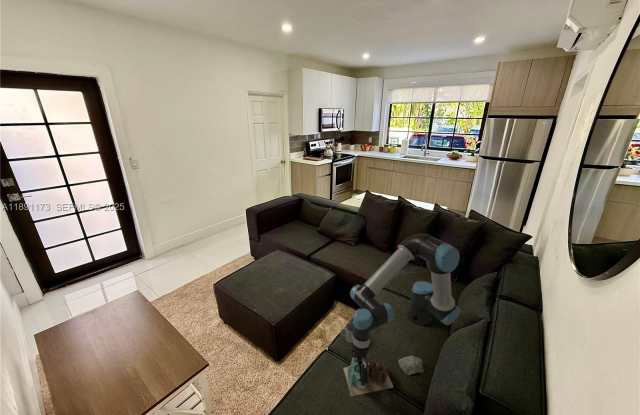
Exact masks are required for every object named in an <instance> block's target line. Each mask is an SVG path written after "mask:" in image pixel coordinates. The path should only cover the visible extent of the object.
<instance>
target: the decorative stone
mask: <svg viewBox="0 0 640 415" xmlns="http://www.w3.org/2000/svg"><path fill="white" fill-rule="evenodd" d="M397 361H398V365H399V368H400V369H401V370H402V372H403V373H404V374H406V375H407V376H411V375H414V374H418V373H421V374H423V373H424V366H423V360H422V359H421V358H420V357H416V356H414V355H409V356H403V357H402V358H400V359H398V360H397Z"/></svg>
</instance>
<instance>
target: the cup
mask: <svg viewBox="0 0 640 415" xmlns="http://www.w3.org/2000/svg"><path fill="white" fill-rule="evenodd" d="M339 332H340V333H339V334H340V336H341V337H342V338H344V339H345V341H346V343H347V344H352V339H351V337H352V336H353V321H349V322H346V323H345V326H344V327H342V328H341V329H340V331H339ZM344 332H345V333H344Z"/></svg>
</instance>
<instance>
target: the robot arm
mask: <svg viewBox="0 0 640 415" xmlns="http://www.w3.org/2000/svg"><path fill="white" fill-rule="evenodd" d="M397 248H398V249H396V251H394V252H393V254H392V255H391V256H389V258H387V260H386V261H384V263H382V265H381V266H379V268H378V269H377V270H376V271H375V272H374V273H373V274H372V275H371V276H370V277H369V278H368V279H367V280H366V282H364V283H363V284H362V285H360V284H356V285H354V286H353V287H352V288H351V289H350V292H349V294H350V298H351V300H353V301H354V303H356V304H357V305H358V307H359V308H358V309H357V310H356V311H355V312H354V314H353V319H352V322H353V336H352V337H351V339H352V343H351V349H350V352H351V353H352V354H351V357H352V360H351V362H352V361H353V360H354V361H355V362H358V365H359V372H360V377H359V385H358V388H359V389H362V388H365V384H366V383H368V363H369V362H368V363H367V360H366V357H367V354H368V353H369V351H370V344H371V335H372V332H373V331H374V330H377V329H378V328H380V327H383V326H384V325H386V324H388V323H390V322H391V321H393V320H394V318H395V311H394V309H393V307H392V305H390V303H388V302H387V303H386V302H385V303H380V301H378V300H377V299H376V298H375V297H376V296H377V295H378V294H379V293H380V292H381V291H382V290H383V289H384V288H385V286H387V285H388V284H389V282H391V281H392V279H393V278H394V277H395V276H396V275H398V273H399V272H400V271H401V270H402V269H403V268H404V266H406V264H408V262H409V261H411V260H415V259H416V257H419V258H421V259H423V260H424V261H425V262H426V267H427V269H428V270H429V272H430V273H431V274H430V277H431V283H430V282H428V281H423V280H422V281H416V282H415V283H414V284H413V286H412V289H411V296H410V302H409V304H408V305H407V306H406V309H405V315H406V318H407V319H408V320H409V321H410V322H412V323H413V324H415V325H417V326H428V325H429V324H431V323H432V320H433V317H434V318H436V319H437V320H439V321H440V322H441V323H442V324H444V325H446V326H450V325H451V324H453V323H454V322H455V321H456V320H457V318H458V317H459V315H460V313H461V308H460V307H459V306H457V305H456V301H455V298H454V297H453V296H452V282H451V281H452V280H451V273H452V272H454V271H455V270H456V268H457V267H458V266H459V262H460V252H459V250H458V249H457V248H456V247H455V246H453V245H451V244H449V243H447V242H444V241H442V240H441V239H438V238H436V237H434V236H432V235H430V234H428V233H417V234H413V235H410V236H408V237H407V238H405V239H403V241H401V242H400V243H399V244H398V245H397ZM359 361H360V362H359Z"/></svg>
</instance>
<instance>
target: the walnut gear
mask: <svg viewBox="0 0 640 415" xmlns="http://www.w3.org/2000/svg"><path fill="white" fill-rule="evenodd" d="M368 363H369V365H368V377H371V378H370V381H371V382H372V383H374V381H375V382H377V385H381V382H383V383H385V382H386V379H387V373H389V366H388V364H386V361H385V360H383V359H381V360H379V357H374V359H372V358H371V359H370V360H369V362H368ZM376 363H380V364H381V370H380V371H378V370H375V367H376Z"/></svg>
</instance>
